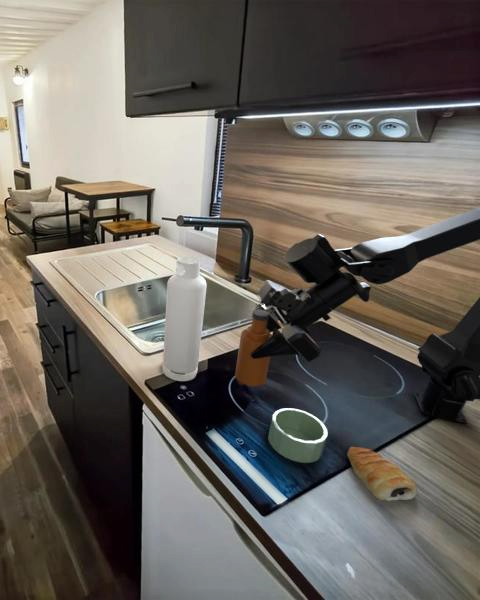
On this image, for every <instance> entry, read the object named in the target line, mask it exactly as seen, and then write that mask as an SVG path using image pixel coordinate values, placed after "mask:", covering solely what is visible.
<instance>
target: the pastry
mask: <svg viewBox="0 0 480 600" xmlns="http://www.w3.org/2000/svg"><path fill="white" fill-rule="evenodd" d="M346 456H347V458H348V460H349V462H350V465H351V467H352V469H353V473H354V475H356V476H357V478H359V480H360V481H361V482H362V484H363V485H364V486H365V487H366V489H367V490H368V491H369V492H370V493H371V494H372V495H373V497H374V498H376V499H377V500H380V501H384V500H385V501H389V502H390V501H397V500H398V501H399V500H404V501H405V500H406V501H409V500H412V499H414V498H415V497H416V496H417V493H418V488H417V485H416V483H415V482H413V481H412V480H411V479H410V477H409V476H408V475H407V474H406V473H405V472H404V471H403V470H402V469H400V467H399V466H398V465H397V464H396V463H393V462H392V461H390V460H388V459H386V458H384V457H383V456H382V455H381V454H379V453H378V452H375V451H373V450H371V449H370V448H367V447H361V446H360V447H359V446H358V447H356V446H350V447H349V448H348V451H347V453H346Z"/></svg>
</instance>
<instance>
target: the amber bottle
mask: <svg viewBox="0 0 480 600" xmlns="http://www.w3.org/2000/svg"><path fill="white" fill-rule="evenodd" d="M269 315H270V314H269V312H267V311H264V310H259V309H254V310H253V311H252V314H251V317H252V320H251V325H250V326H247V328H245V329H244V330H242V331H241V333H240V338H239V346H238V351H237V358H236V365H235V373H234V377H235V378H236V380H237V381H238V382H239V383H241V384H243V385H245V386H249V387H261V386H263V385H264V384H265V383H266V381H267V378H268V377H267V376H268V371H269V366H270V361H271V356H270V357H263V358H257V359H254V358H252V357H251V353H252V352H253V351H254V350H255V349H257V348H258V347H259V346H260V345H262V344H263V343H264V342H265V341H267V340H268V339H269V338H271V336H272V334H273V333H270V332H269V330H268V329H267V328H266V327H267V321H268V319H269Z"/></svg>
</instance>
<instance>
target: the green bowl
mask: <svg viewBox="0 0 480 600" xmlns="http://www.w3.org/2000/svg"><path fill="white" fill-rule="evenodd" d="M268 428H269V429H268V434H267V440H268V442H269V445H270V446H271V447H272V449H274V451H276V452H277V453H278V454H280V455H281V456H283V457H284V458H285V459H288V460H290V461H293V462H297V463H303V464H308V463H309V464H310V463H315V462H317V461H319V459H320V458H321V457H322V455H323V452H324V449H325V446H326V444H327V440H328V438H329V433H328V428H327V427H326V426H325V424H324V422H323V421H322V420H320V418H318V417H316V416H315V415H314V414H312V413H309V412H307V411H305V410H302V409H298V408H293V407H284V408H279V409H277V410H275V412H273V413H272V415H271V420H270V423H269V427H268Z"/></svg>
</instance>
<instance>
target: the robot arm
mask: <svg viewBox="0 0 480 600" xmlns="http://www.w3.org/2000/svg"><path fill="white" fill-rule="evenodd" d="M477 241H480V206H479V207H476V208H474V209H470V210H468V211H465V212H463V213H460V214H457V215H454V216H452V217H449V218H447V219H444V220H442V221H439V222H436V223H433V224H432V225H431V224H430V225H429V226H426V227H423V228H421V229H418V230H416V231H413V232H410V233H408V234H403V235H398V236H387V237H380V238H374V239H371V240H367V241H363V242H360V243H358V244H356V245H354V246H352V247H347V248H338V249H334V248H333V247H332V245H331V244H330V242H329V240H328V239H327V238H326V237H325V236H324V235H322V234H320V233H317V234H316V235H314V237H312V238H311V237H310V238H306V239H304V240H302V241H299V242H296V243H294V244H293V245H292V246H291V247H290V248H289V249H288V250H287V251H286V253H285V254H284V257H283V259H284V261H285V262H286V264H288V266H289V267H290V268H291V269H292V270H293V271H294V272H295V273H296V274H297V275H298V276H299V278H301V280H302V281H304V282H305V283H307V284H310V285H309V286H307V287H306V288H305V289H304V288H303V287H301V286H298V287H296V288H293V289H292V290H291V289H288V288H287V287H286V286H284V285H281V284H278V283H276V282H274V281H271V280H269V279H266V280H265V281H264V283H263V284H262V285H261V287H260V288H259V290H258V291H257V292H256V295H257V296H256V297H257V299H258V300H259V302H260V303H258V306H257V307H258V310H264V311H267V312H269V314H270V315H269V319H268V321H267V327H266V328H267V329H268V330H269V332H270V334H272V336H271V338H269V339H268V340H267V341H265V342H264V343H263V344H262V345H260V346H259V347H258V348H257V349H255V350H254V351H253V352H252V353H251V357H252V358H254V359H257V358H263V357H270V358H271V357H276V356H286V355H287V356H288V355H296V356H297V357H300V356H302V357H303V358H304V359H305V360H306V361H307V362H308V363H311V362H313V361H314V360H316V359H317V358H319V357H320V356H321V352H322V349H321V348H320V346H319V345H318V344H317V343H316V341H315V340H314V339H313V338H312V337H311V336H310V335H309V333H311V331H310V330H309V329H308V327H310V326H312V325H313V324H315V323H316V322H317V321H319V320H321V319H323V321H325V322H328V321H329V320H330V319H332V317H331V316H330V315H329V314H330V313H332V312H333V311H335V310H336V309H338V308H339V307H341V306H342V305H344V304H345V303H347V302H348V301H350V300H351V299H353V298H354V297H357V298H358V299H360V300H361V301H363V302H364V303H368V302H369V301H370V292H371V289H372V287H371V286H370V285H369V284H368V283H371V284H374V285H383V284H384V285H385V284H388V283H390V282H392V281H394V280H397V279H399V278H400V277H402V276H404V275H406V274H408V273H410V272H411V271H412V270H413V269H414V268H415V267H416V266H417V265H418V264H419V263H421V262H423V261H425V260H427V259H430V258H432V257H435V256H439V255H441V254H443V253H446V252H449V251H452V250H455V249H458V248H461V247H463V246H466V245H469V244H472V243H474V242H477ZM342 268H343V269H344V270H346V271H347V272H345V271H344V272H342V271H341V270H340V269H342ZM355 276H356V277H361V278H362V279H364V280H365V281H367V282H368V283H366V282H363V281H361V282H360V281H359V280H358V279H357V278H356V277H355ZM279 322H280V323H279ZM280 324H281V325H280ZM280 329H282V330H281V331H280ZM417 350H418V353H417V357H416V358H417V360H418V363H419V364H420V365H421V371H422V372H424V373H425V374H426V375H428V376H429V377H430V378H429V381H428V383H427V385H426V387H425V390H424V391H423V393H422V394H421V393H414V399H415V402H416V404H417V406H418V408H419V411H420V413H421V415H424V416H427V417H431V418H436V419H441V420H444V421H449V422H452V423H458V424H461V425H467V424H468V421H467V418H466V416H465V415H464V412H463V409H464V407H465V405H466V404H467V401H468V402H475V400H480V296H479V298H477V300H475V302H474V303H473V304H472V306H471V307H470V308H469V309H468V311H467V312H466V313H465V314H464V316H463V317H462V318H461V319H460V321H459V322H458V323H457V325H455V327H454V328H453V329H451V331H447V332H445V333H443V334H439V335H438V334H436V333H431V334H430V335H428V336H427V338H426V339H425V342H424V343H423V344H422V345H421V346H419V347H418V348H417Z"/></svg>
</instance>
